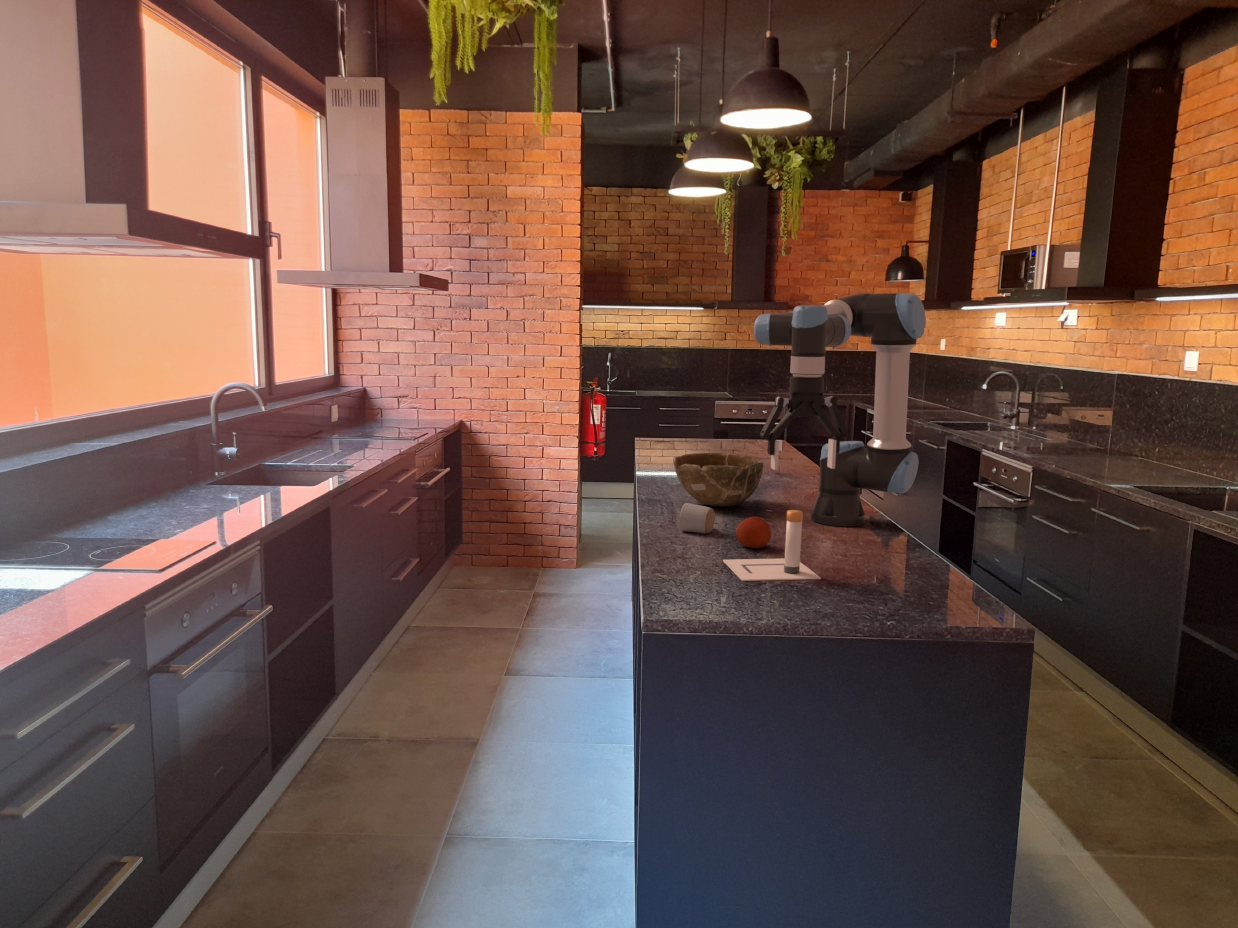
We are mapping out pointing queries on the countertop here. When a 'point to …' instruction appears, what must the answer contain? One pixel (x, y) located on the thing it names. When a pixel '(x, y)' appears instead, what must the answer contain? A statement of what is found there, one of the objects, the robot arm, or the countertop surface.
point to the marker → (793, 541)
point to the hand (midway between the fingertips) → (802, 468)
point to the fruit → (753, 532)
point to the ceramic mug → (696, 518)
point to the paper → (766, 570)
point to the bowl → (719, 477)
